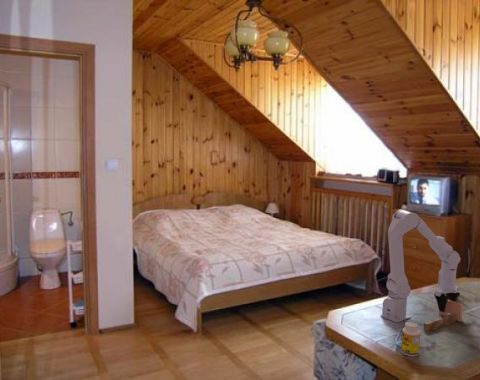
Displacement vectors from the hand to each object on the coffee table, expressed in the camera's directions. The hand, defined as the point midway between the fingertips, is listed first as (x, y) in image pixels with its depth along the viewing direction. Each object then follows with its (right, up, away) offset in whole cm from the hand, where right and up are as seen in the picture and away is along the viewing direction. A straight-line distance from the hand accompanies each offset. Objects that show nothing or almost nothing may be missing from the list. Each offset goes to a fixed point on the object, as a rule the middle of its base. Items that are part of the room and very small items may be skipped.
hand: (445, 309), depth 183 cm
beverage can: (+13, -1, +28) cm, 31 cm away
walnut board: (-7, -3, -11) cm, 13 cm away
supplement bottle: (-28, -6, -34) cm, 45 cm away
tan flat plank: (+1, -3, -1) cm, 3 cm away
